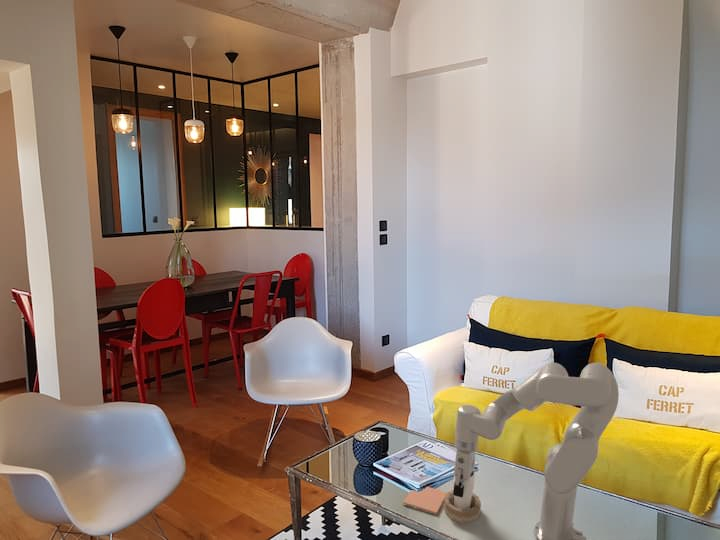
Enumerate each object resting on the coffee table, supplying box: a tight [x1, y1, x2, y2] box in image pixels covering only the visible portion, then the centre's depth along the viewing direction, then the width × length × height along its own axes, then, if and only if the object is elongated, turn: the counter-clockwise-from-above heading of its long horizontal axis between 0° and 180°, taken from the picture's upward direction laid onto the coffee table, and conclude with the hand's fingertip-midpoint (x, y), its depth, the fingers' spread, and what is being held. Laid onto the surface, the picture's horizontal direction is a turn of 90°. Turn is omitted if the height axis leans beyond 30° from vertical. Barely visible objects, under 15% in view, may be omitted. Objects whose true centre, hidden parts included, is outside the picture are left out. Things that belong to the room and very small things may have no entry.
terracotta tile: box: [402, 486, 448, 515], centre depth 195 cm, size 12×12×1 cm
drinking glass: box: [453, 470, 476, 510], centre depth 188 cm, size 7×7×15 cm
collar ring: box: [443, 489, 482, 523], centre depth 190 cm, size 12×12×4 cm
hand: (462, 487), depth 188 cm, fingers open, 9 cm apart
